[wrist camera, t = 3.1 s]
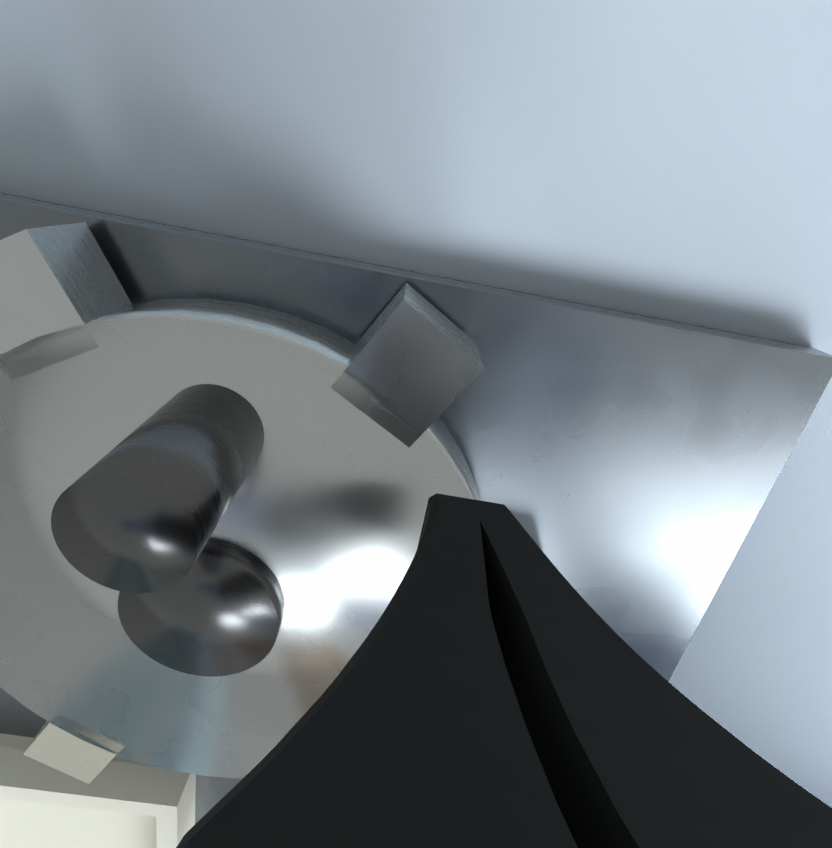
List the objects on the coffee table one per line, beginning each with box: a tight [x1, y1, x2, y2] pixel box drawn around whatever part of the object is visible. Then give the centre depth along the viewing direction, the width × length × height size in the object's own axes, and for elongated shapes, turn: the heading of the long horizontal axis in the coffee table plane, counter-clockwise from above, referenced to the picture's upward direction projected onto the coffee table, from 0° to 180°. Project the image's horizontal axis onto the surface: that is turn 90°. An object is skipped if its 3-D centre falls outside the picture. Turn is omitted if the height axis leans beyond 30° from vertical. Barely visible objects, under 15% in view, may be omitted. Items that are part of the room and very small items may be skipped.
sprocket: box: [0, 222, 485, 784], centre depth 11 cm, size 15×14×5 cm
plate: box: [0, 193, 832, 824], centre depth 16 cm, size 20×24×1 cm
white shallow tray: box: [0, 733, 196, 848], centre depth 17 cm, size 8×7×1 cm
